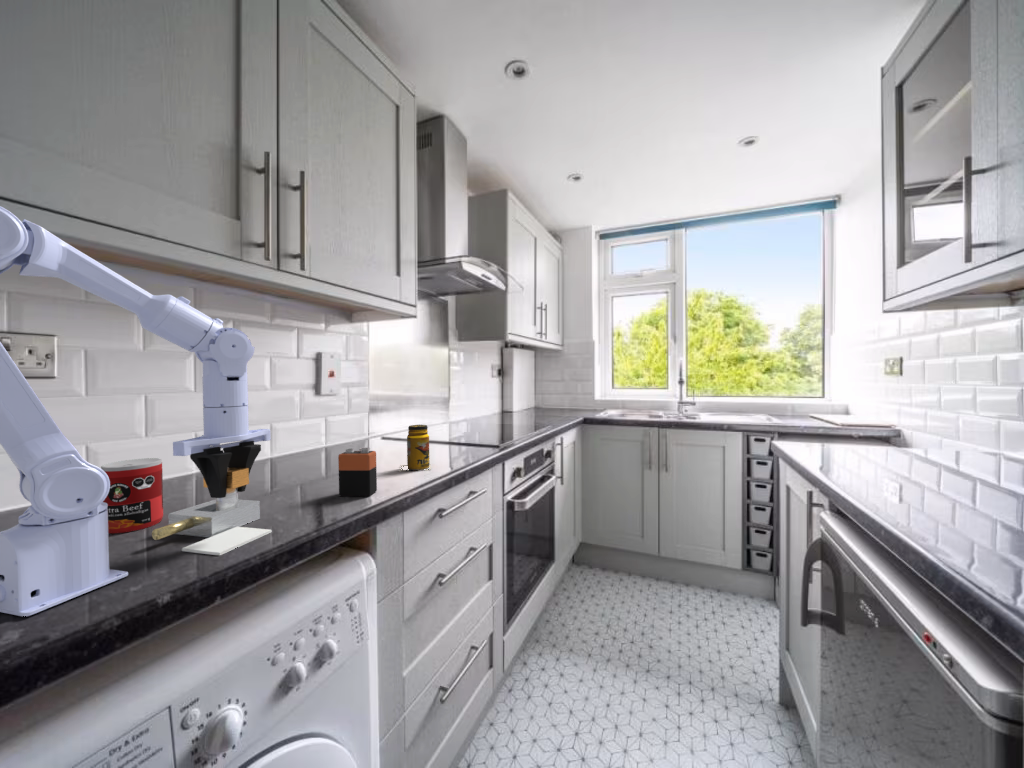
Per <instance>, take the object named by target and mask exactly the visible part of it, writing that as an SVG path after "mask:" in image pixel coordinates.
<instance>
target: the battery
mask: <svg viewBox="0 0 1024 768" xmlns="http://www.w3.org/2000/svg"><path fill="white" fill-rule="evenodd" d="M337 460H338V495H339V497H341V498H343V497H344V498H345V497H350V498H351V497H357V498H358V497H359V498H360V497H362V498H365V497H366V498H368V497H371V496H372V495H373V494H375V493H376V492H377V491H378V489H377V488H378V487H377V486H378V485H377V483H378V482H377V481H378V480H377V479H378V478H377V452H376V451H375V450H371V448H370V447H360V448H359V450H354V448H346V449H345V451H344V452H342V453H339V454H338V459H337Z"/></svg>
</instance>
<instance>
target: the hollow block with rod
mask: <svg viewBox="0 0 1024 768" xmlns="http://www.w3.org/2000/svg"><path fill="white" fill-rule="evenodd" d="M260 504H261V501H260V500H252V499H240V498H238V507H237V508H235V509H232V510H227V511H217V510H216V498H214V499H212V500H210V501H206V502H203V503H200V504H197V505H193V506H192V505H191V506H188V507H186V508H183V509H179V510H177V511H173V512H169V513H168V515H167V516H168V518H167V519H168V524H166V525H164V526H161V527H158V528H155V529H153V530H152V532H151V537H152V539H153V540H155V541H158V540H161V539H164V538H166V537H170V536H173V535H181V536H182V535H184V536H191V537H200V538H201V537H202V538H209V537H212V536H214V535H217V534H220V533H222V532H225V531H227V530H230V529H232V528H235V527H244V525H247V523H248V524H249V523H253V522H255V521H257V520H261V505H260ZM252 521H253V522H252Z"/></svg>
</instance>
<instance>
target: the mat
mask: <svg viewBox="0 0 1024 768" xmlns="http://www.w3.org/2000/svg"><path fill="white" fill-rule="evenodd" d="M272 531H273V530H272V529H267V528H266V529H265V528H258V527H257V528H256V527H248V526H247V527H246V526H240V527H235V528H232V529H230V530H227V531H225V532H222V533H220V534H217V535H214V536H212V537H206V538H205V539H202V540H200V541H197V542H195V543H191V544H189V545H187V546H184V547H182V548H181V552H187V553H195V554H203V555H204V554H205V555H213V556H222V555H224V554H226V553H229V552H230V551H233V550H236V549H238V548H240V547H242V546H244V545H246V544H249V543H251V542H253V541H255V540H258V539H260V538H262V537H264V536H267V535H268V534H271V533H272ZM237 547H238V548H237ZM235 548H236V549H235Z"/></svg>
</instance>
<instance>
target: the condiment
mask: <svg viewBox="0 0 1024 768" xmlns="http://www.w3.org/2000/svg"><path fill="white" fill-rule="evenodd" d="M428 428H429V427H428V425H426V424H412V425H411V424H410V425H409V426H408V430H407V433H408V434H407V437H406V462H407V465H405V464H404V465H403V464H402V465H401V464H400V466H401V467H402V466H403V467H404V466H408V469H409V470H424V469H427V470H426V471H430V470H432V466H431V463H430V435H429V434H428V432H429V430H428ZM400 466H399V467H400ZM429 467H431V468H430V469H429V470H428V468H429ZM401 469H402V468H401ZM401 469H400V468H399V470H400V471H399V470H398V472H399V473H401V472H410V471H409V470H407V471H406V470H403V469H402V470H403V471H402V470H401Z"/></svg>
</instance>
